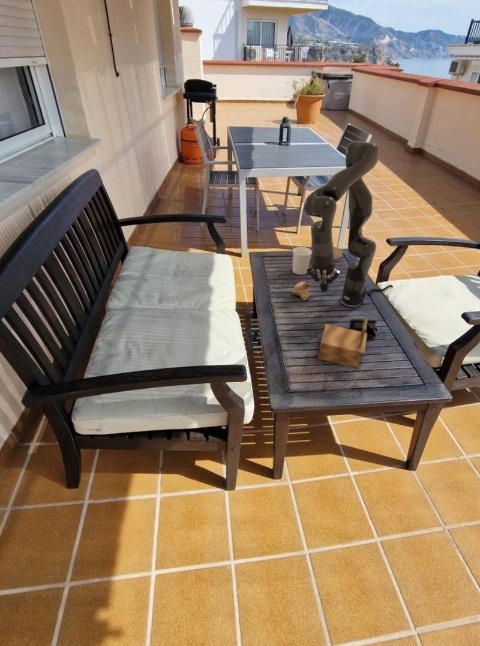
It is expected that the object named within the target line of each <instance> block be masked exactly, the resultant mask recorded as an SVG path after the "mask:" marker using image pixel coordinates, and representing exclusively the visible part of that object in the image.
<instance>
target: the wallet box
mask: <svg viewBox="0 0 480 646" xmlns="http://www.w3.org/2000/svg"><path fill="white" fill-rule="evenodd" d="M362 355H363V354H360V353H356V352H351V351H347V350H343V349H339V348H334V347H330V346H326V345H322V344H321V343H320V344H319V350H318V355H317V359H318V360H322V361H326V362H331V363H334V364H338V365H342V366H347V367H349V368H350V367H351V368H355V369H359V367H360V363H361V359H362Z"/></svg>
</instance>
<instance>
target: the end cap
mask: <svg viewBox="0 0 480 646" xmlns="http://www.w3.org/2000/svg"><path fill="white" fill-rule="evenodd" d="M363 321H364V318H363V319H362V318H361V319H360V318H351V319H350V320H349V329H351V330H355V331H360V332H362V328H363ZM376 323H377V320H376V319H370V318H368V321H367V328H366V332H365V333H367V338H366V340H375V337H376V335H377V333H376V332H378V328H377V326H376Z"/></svg>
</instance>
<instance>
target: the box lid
mask: <svg viewBox="0 0 480 646" xmlns="http://www.w3.org/2000/svg"><path fill="white" fill-rule="evenodd" d="M363 319H364V321H363V328H362V332H360V331H355V330H351V329H350V328H347V327H341V326H337V325H333V324H329V323H325V326H324V330H323V333H322V337H321V341H320V344H322V345H326V346H330V347H334V348H339V349H343V350H347V351H351V352H356V353H360V354H362V355H365V351H366V344H367V339H366V338H367V333H365V332H366V328H367V321H368V319H369V318H368V317H367V316H365V317H363Z"/></svg>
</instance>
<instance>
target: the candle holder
mask: <svg viewBox="0 0 480 646" xmlns="http://www.w3.org/2000/svg"><path fill="white" fill-rule="evenodd" d="M311 256H312V251H311V248H308V247H305V246H296V247H294V248H293V250H292V266H291V268H292V269H291V270H292V273H294V274H295V275H299V276H303V275H306V274H308V272H307V269H308V267H309V266H310V263H311V260H312V257H311ZM310 259H311V260H310Z"/></svg>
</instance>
